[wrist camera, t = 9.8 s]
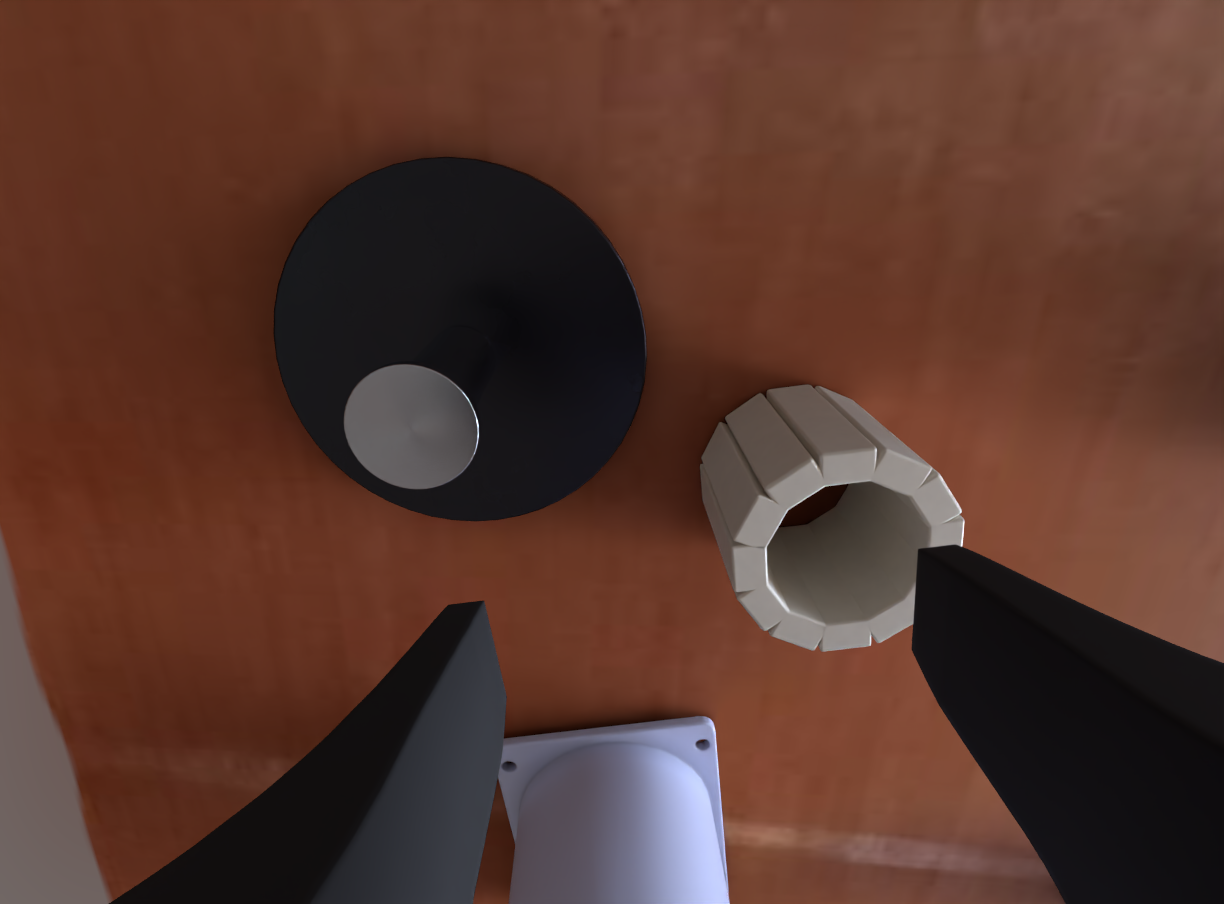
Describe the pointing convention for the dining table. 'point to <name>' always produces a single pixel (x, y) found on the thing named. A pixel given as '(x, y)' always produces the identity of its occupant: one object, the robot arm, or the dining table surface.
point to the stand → (460, 338)
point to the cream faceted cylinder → (822, 517)
